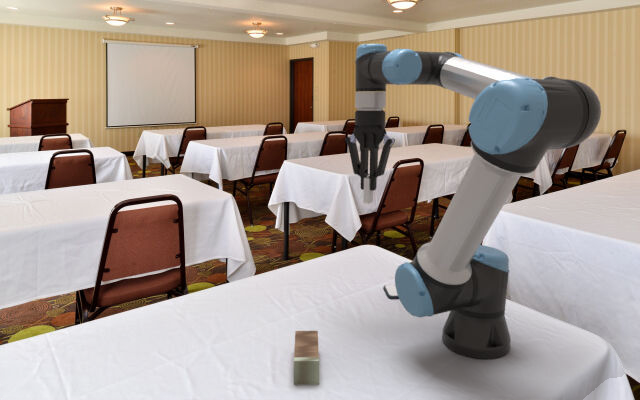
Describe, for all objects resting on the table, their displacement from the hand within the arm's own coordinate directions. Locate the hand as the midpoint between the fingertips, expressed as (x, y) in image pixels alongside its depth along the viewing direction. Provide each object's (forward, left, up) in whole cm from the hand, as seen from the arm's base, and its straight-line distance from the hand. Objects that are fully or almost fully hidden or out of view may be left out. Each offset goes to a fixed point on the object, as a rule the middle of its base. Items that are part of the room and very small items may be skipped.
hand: (368, 202), depth 128 cm
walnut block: (+3, +27, -27) cm, 38 cm away
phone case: (-8, -17, -30) cm, 35 cm away
